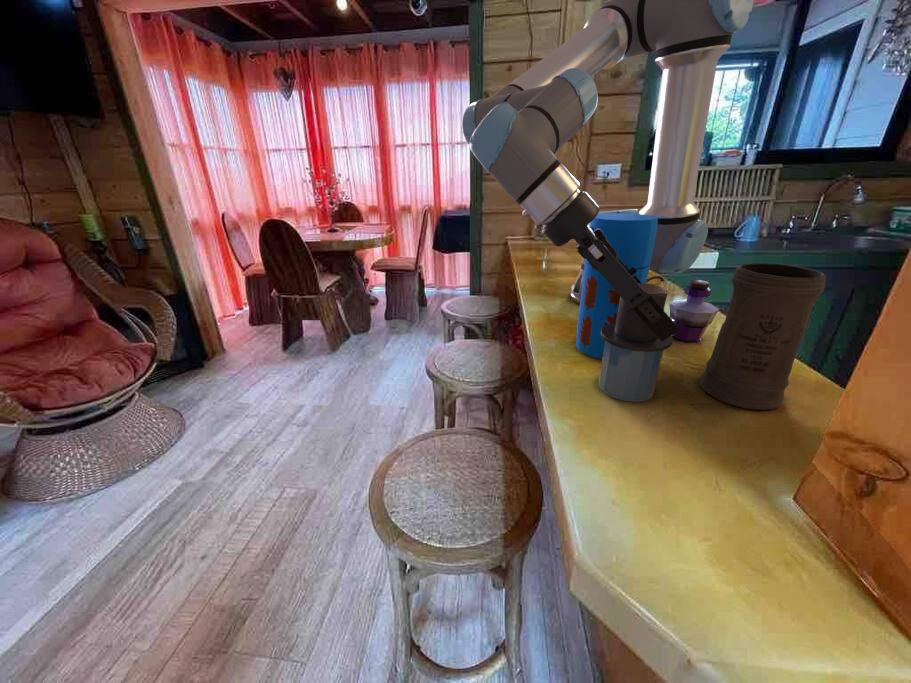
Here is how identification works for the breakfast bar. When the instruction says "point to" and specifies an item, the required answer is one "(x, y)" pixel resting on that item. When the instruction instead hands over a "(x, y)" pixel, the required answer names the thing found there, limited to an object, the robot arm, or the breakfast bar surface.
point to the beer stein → (761, 334)
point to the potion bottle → (693, 312)
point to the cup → (629, 373)
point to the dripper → (636, 326)
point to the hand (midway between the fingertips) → (661, 321)
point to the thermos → (598, 296)
